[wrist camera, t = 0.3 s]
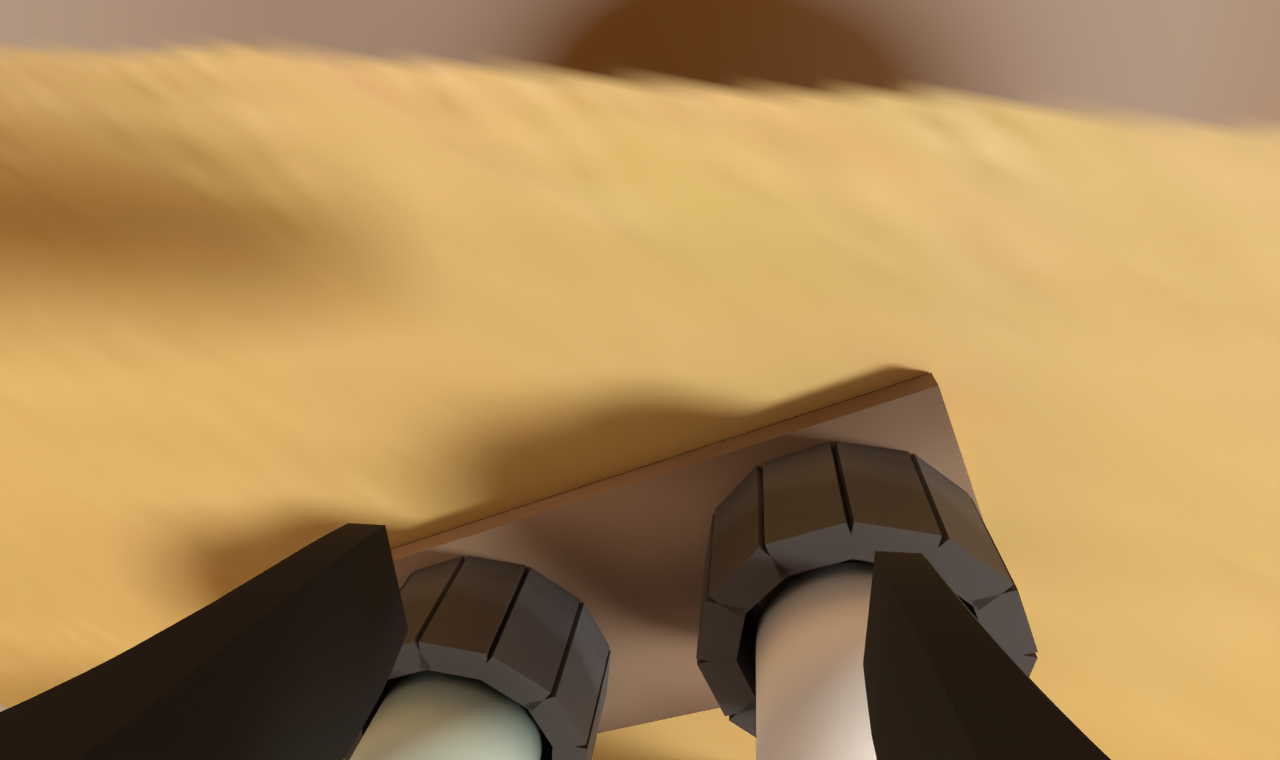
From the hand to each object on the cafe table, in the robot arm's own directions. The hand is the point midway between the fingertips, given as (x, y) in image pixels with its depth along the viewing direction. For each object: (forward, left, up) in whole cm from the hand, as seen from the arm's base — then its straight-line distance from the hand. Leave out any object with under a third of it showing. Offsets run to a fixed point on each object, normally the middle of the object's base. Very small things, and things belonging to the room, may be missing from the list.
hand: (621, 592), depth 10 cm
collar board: (-8, +4, -10) cm, 13 cm away
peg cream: (-8, -2, -6) cm, 10 cm away
